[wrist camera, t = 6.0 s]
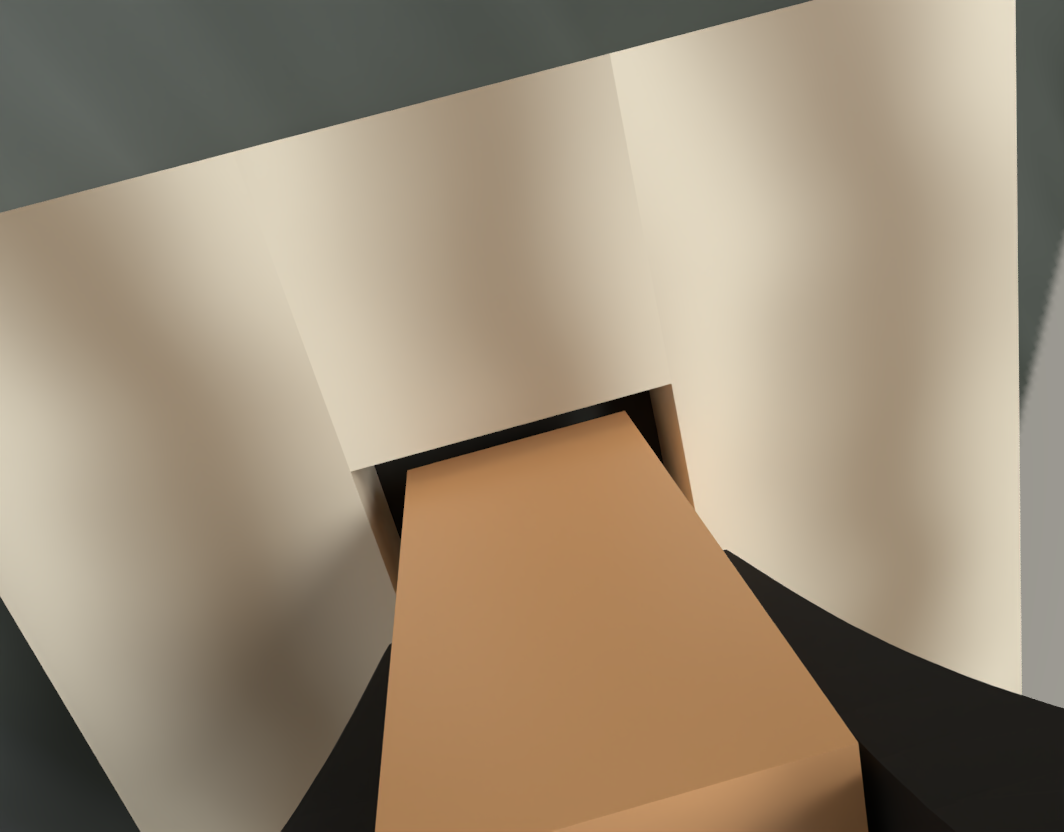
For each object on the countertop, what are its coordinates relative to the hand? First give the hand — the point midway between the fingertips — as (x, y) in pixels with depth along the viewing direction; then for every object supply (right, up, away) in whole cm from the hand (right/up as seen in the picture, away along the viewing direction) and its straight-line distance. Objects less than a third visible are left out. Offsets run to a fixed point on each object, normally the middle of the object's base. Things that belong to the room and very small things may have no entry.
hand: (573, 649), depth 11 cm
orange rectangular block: (0, +1, +3) cm, 3 cm away
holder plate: (-1, +1, +4) cm, 4 cm away
